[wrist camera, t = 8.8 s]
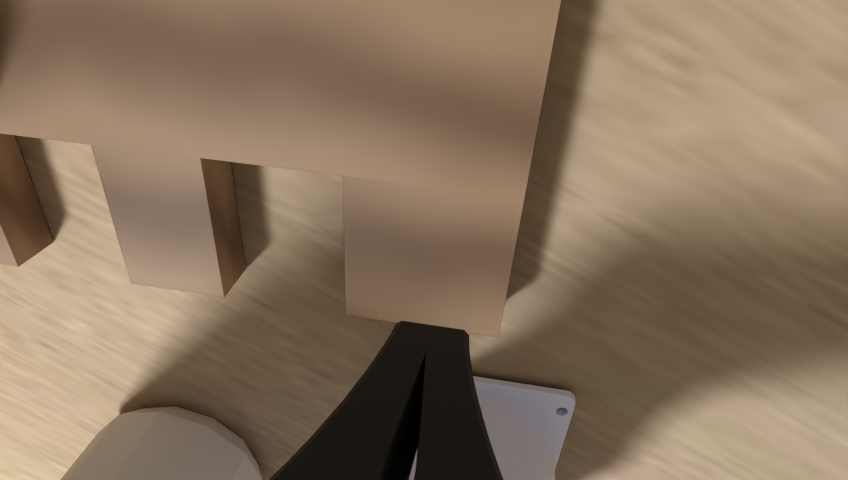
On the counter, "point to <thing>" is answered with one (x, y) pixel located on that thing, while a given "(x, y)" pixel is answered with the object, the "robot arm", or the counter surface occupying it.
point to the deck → (289, 134)
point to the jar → (165, 449)
